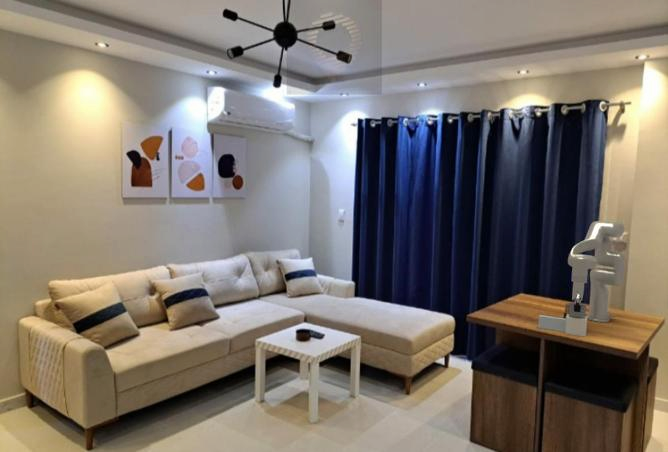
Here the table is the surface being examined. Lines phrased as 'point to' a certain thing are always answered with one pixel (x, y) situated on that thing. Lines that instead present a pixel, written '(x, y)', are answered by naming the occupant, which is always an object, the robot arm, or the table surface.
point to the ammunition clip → (566, 310)
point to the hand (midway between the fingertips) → (577, 309)
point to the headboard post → (564, 324)
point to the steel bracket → (577, 314)
